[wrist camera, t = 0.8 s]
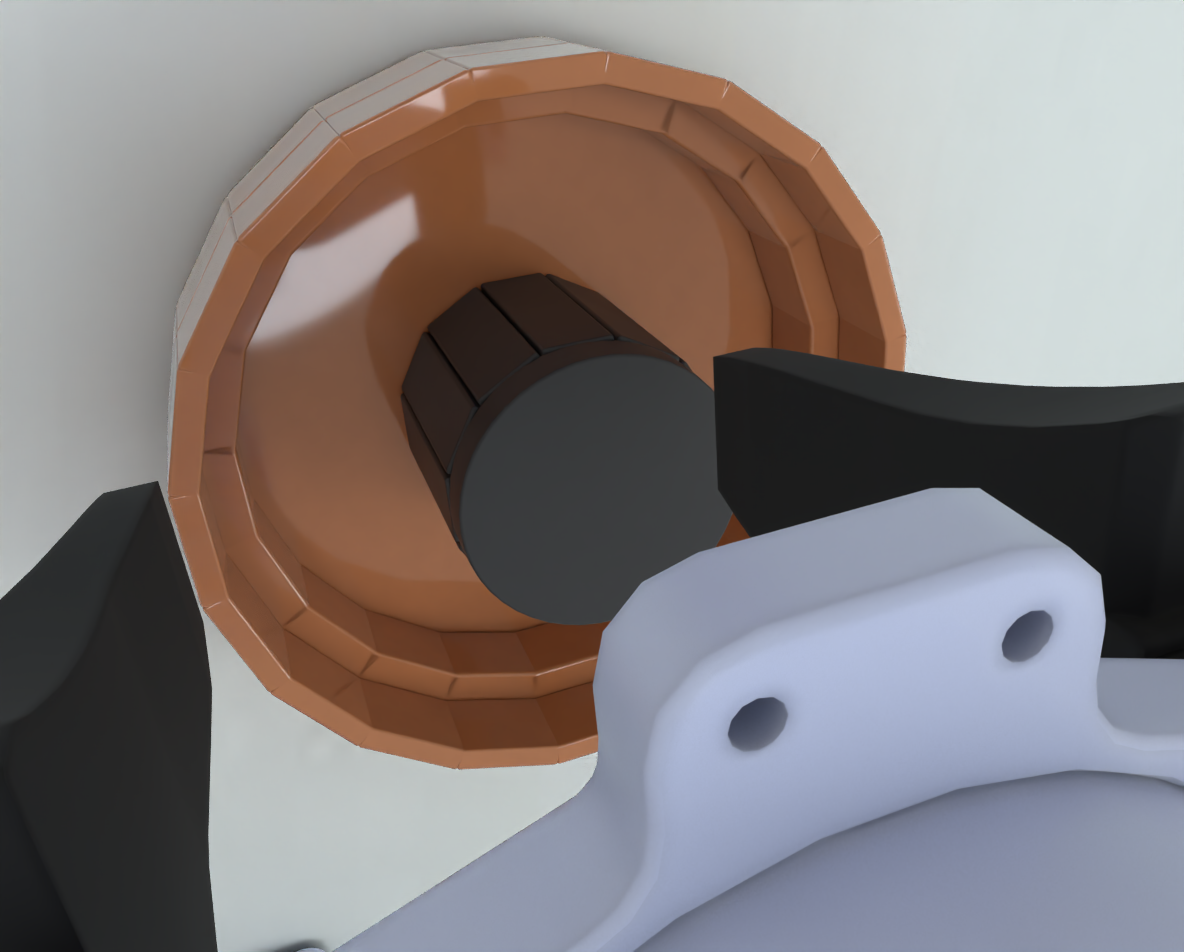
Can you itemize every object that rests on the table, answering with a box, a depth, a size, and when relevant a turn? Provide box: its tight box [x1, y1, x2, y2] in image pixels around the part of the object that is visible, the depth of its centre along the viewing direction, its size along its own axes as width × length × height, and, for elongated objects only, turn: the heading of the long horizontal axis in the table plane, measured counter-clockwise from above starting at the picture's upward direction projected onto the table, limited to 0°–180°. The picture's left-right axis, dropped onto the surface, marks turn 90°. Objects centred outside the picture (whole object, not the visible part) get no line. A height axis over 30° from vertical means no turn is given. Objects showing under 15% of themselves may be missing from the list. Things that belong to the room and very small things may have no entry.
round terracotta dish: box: [167, 36, 906, 769], centre depth 21 cm, size 14×14×4 cm
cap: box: [401, 273, 733, 625], centre depth 20 cm, size 5×5×5 cm
